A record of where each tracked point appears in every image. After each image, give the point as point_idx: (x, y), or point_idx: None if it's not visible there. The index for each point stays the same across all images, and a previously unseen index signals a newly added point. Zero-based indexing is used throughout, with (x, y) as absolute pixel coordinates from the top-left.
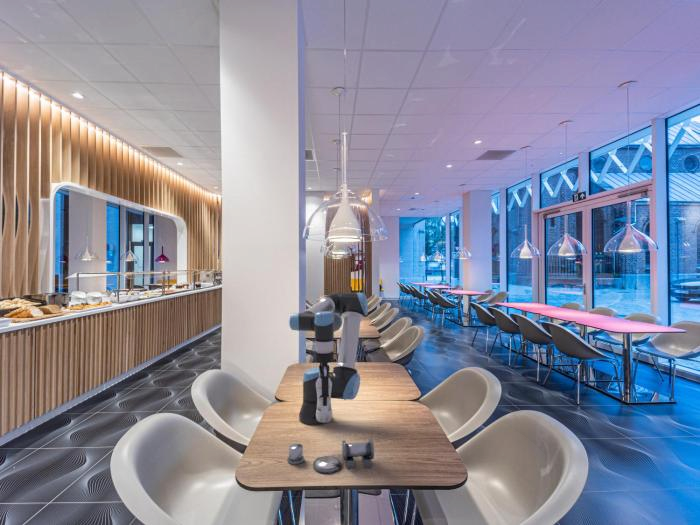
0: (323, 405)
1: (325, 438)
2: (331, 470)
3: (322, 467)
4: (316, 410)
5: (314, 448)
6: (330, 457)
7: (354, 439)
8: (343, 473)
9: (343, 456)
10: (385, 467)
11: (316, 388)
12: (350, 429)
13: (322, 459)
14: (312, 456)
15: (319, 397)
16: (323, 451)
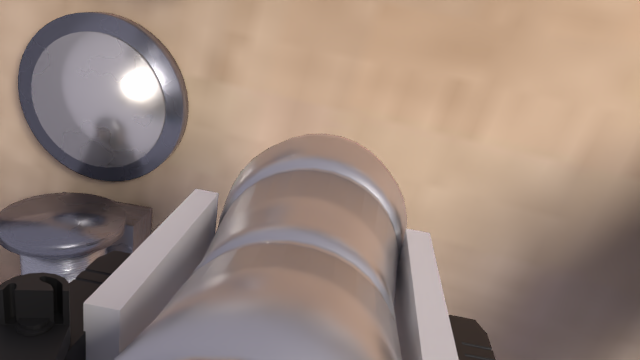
0: (107, 257)
1: (465, 177)
2: (22, 105)
3: (42, 60)
4: (315, 160)
5: (344, 72)
6: (150, 136)
7: None
8: (26, 162)
9: (63, 202)
10: None
11: (215, 336)
12: (531, 353)
13: (135, 83)
14: (239, 36)
15: (200, 274)
16: (287, 120)
